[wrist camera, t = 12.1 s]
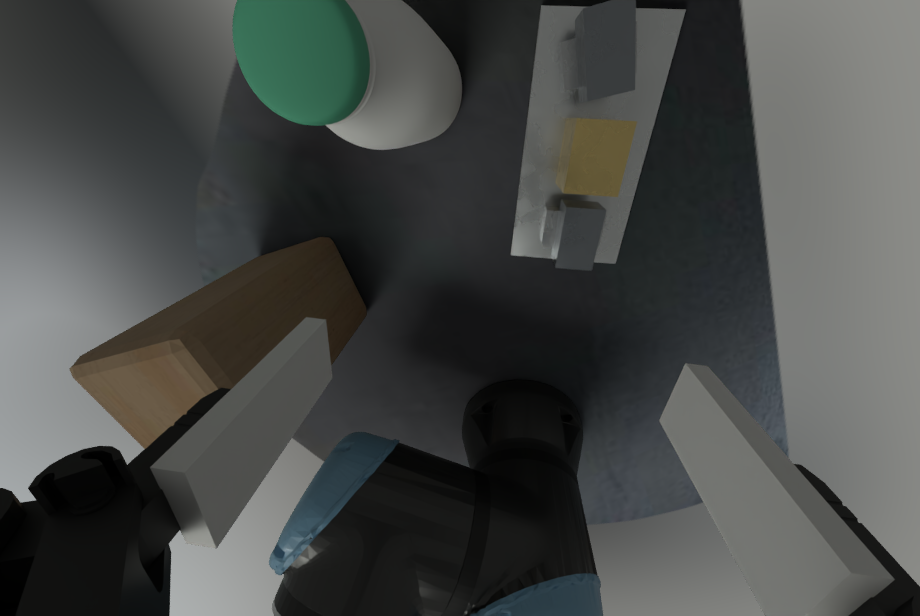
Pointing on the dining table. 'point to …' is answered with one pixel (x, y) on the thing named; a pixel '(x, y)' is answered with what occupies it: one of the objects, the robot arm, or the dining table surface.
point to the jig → (592, 97)
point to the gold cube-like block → (594, 156)
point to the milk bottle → (349, 68)
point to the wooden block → (219, 336)
